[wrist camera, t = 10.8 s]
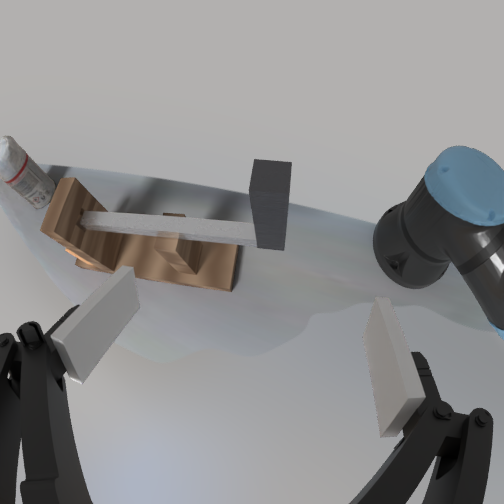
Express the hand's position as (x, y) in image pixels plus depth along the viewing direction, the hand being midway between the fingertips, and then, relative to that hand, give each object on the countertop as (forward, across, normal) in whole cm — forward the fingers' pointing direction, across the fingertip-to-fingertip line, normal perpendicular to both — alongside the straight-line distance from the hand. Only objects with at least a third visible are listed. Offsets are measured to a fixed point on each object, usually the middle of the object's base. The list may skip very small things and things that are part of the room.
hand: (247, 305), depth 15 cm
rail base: (+28, -21, -13) cm, 38 cm away
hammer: (+19, -12, -4) cm, 23 cm away
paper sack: (+37, -56, -5) cm, 67 cm away
